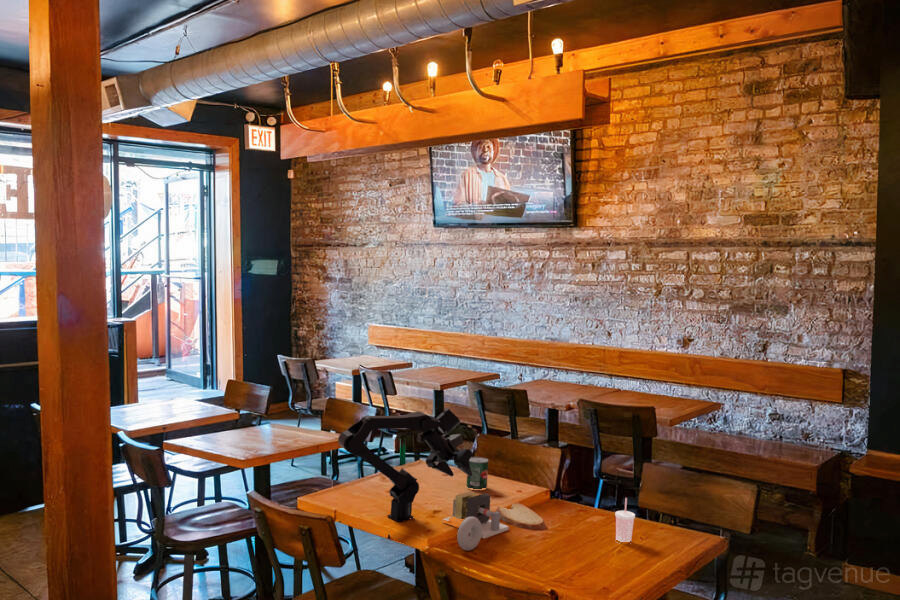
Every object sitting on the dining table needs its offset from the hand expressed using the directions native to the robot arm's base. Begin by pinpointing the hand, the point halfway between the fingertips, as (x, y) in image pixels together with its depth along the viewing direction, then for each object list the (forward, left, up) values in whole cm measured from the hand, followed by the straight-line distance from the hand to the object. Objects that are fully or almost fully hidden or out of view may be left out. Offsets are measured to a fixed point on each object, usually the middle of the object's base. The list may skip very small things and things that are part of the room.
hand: (461, 475), depth 260 cm
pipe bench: (-7, -13, -12) cm, 19 cm away
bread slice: (+11, -18, -13) cm, 25 cm away
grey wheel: (-23, -25, -13) cm, 37 cm away
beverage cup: (+20, -52, -13) cm, 57 cm away
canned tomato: (+25, +14, -13) cm, 31 cm away
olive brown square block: (-7, -9, -10) cm, 15 cm away
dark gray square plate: (-7, -14, -11) cm, 19 cm away
